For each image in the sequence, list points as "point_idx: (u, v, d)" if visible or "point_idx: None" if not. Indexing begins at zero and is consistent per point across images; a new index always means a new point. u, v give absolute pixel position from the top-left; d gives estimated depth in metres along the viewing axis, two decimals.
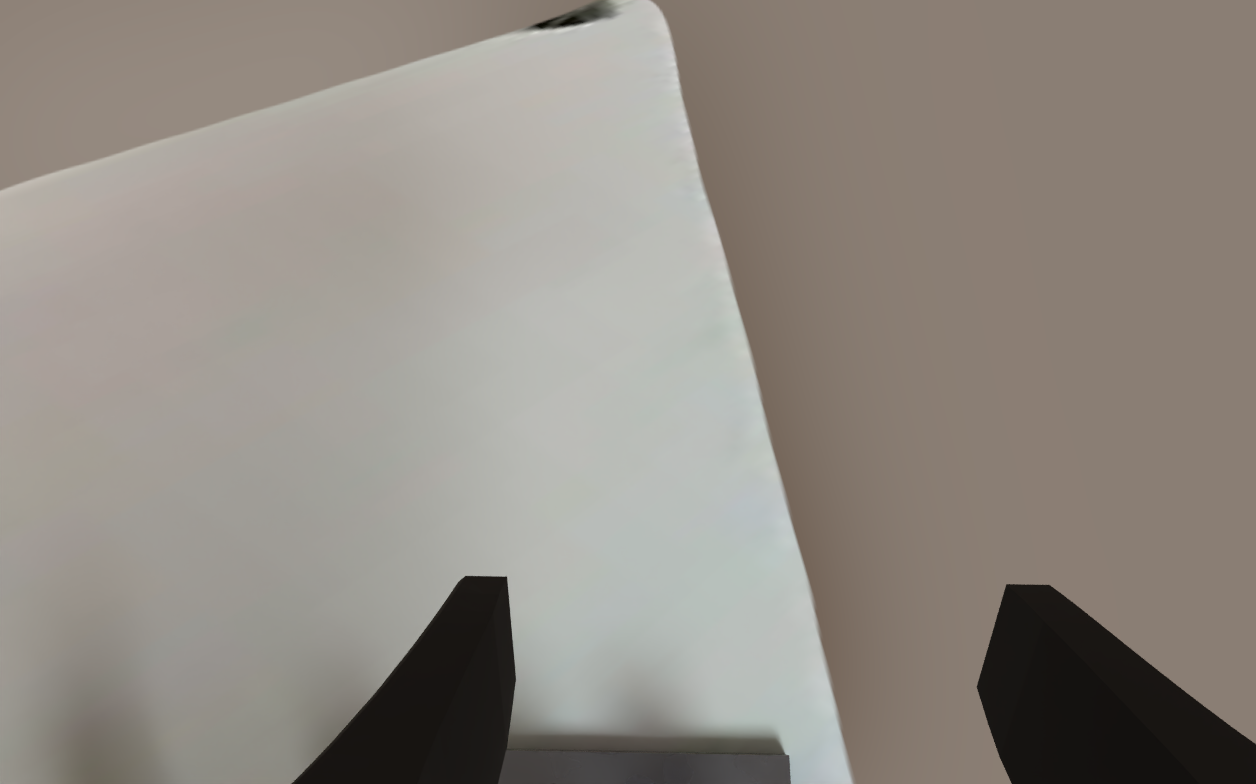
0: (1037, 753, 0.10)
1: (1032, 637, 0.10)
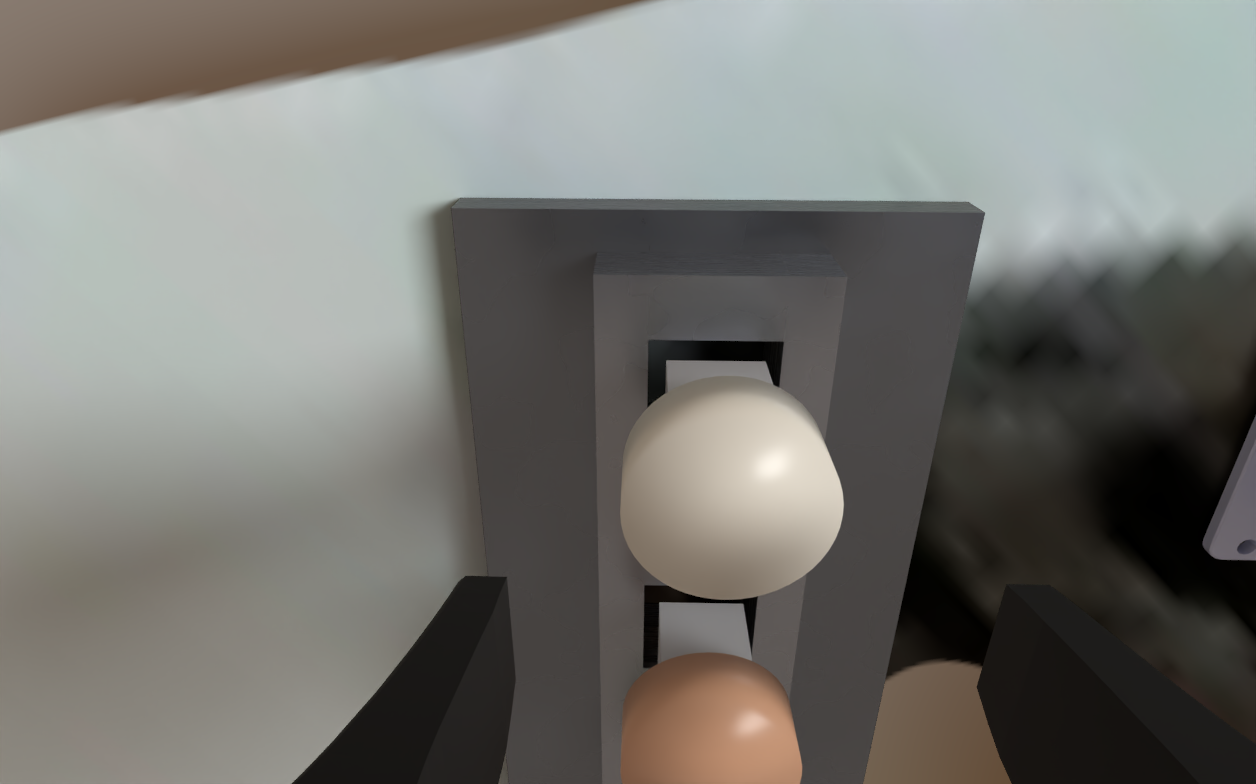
0: (1037, 753, 0.10)
1: (1032, 637, 0.10)
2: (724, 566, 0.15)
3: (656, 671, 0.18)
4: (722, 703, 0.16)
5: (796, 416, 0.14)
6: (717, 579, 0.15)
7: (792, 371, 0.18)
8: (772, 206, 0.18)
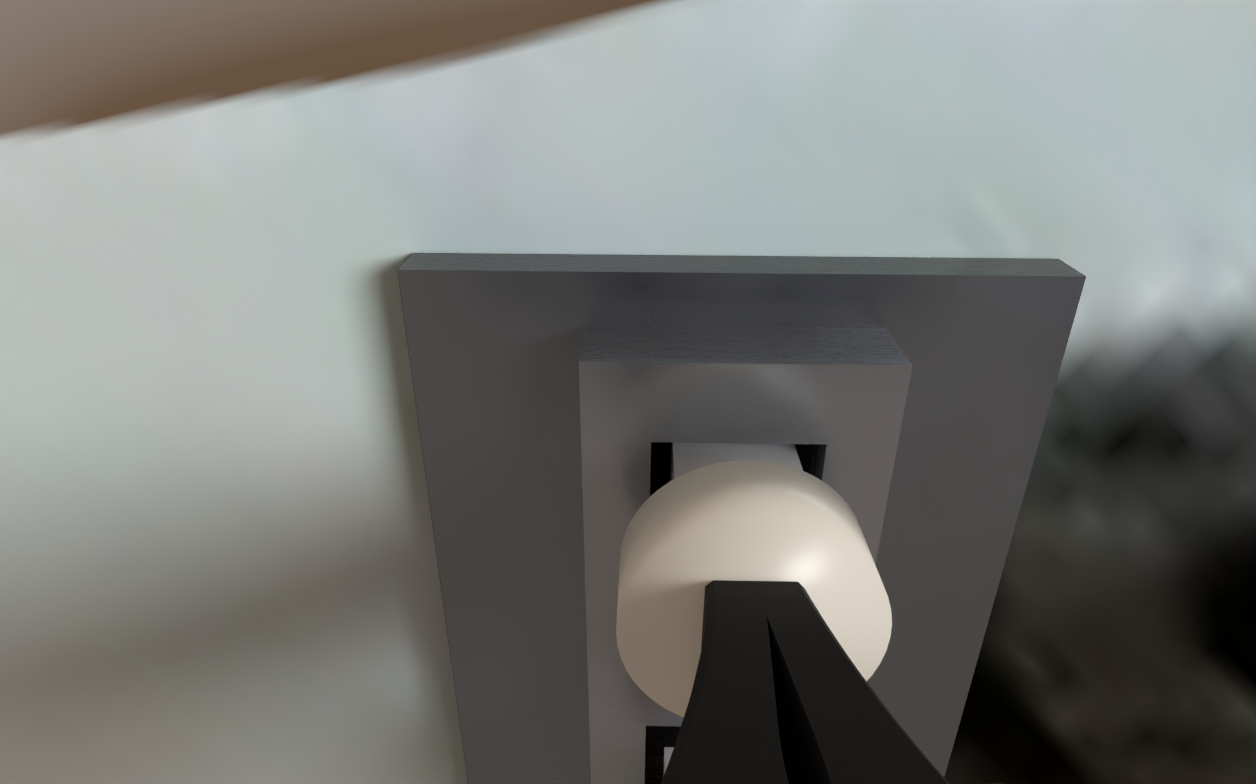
0: None
1: None
2: None
3: None
4: None
5: (833, 515, 0.11)
6: None
7: (836, 480, 0.14)
8: (810, 266, 0.14)
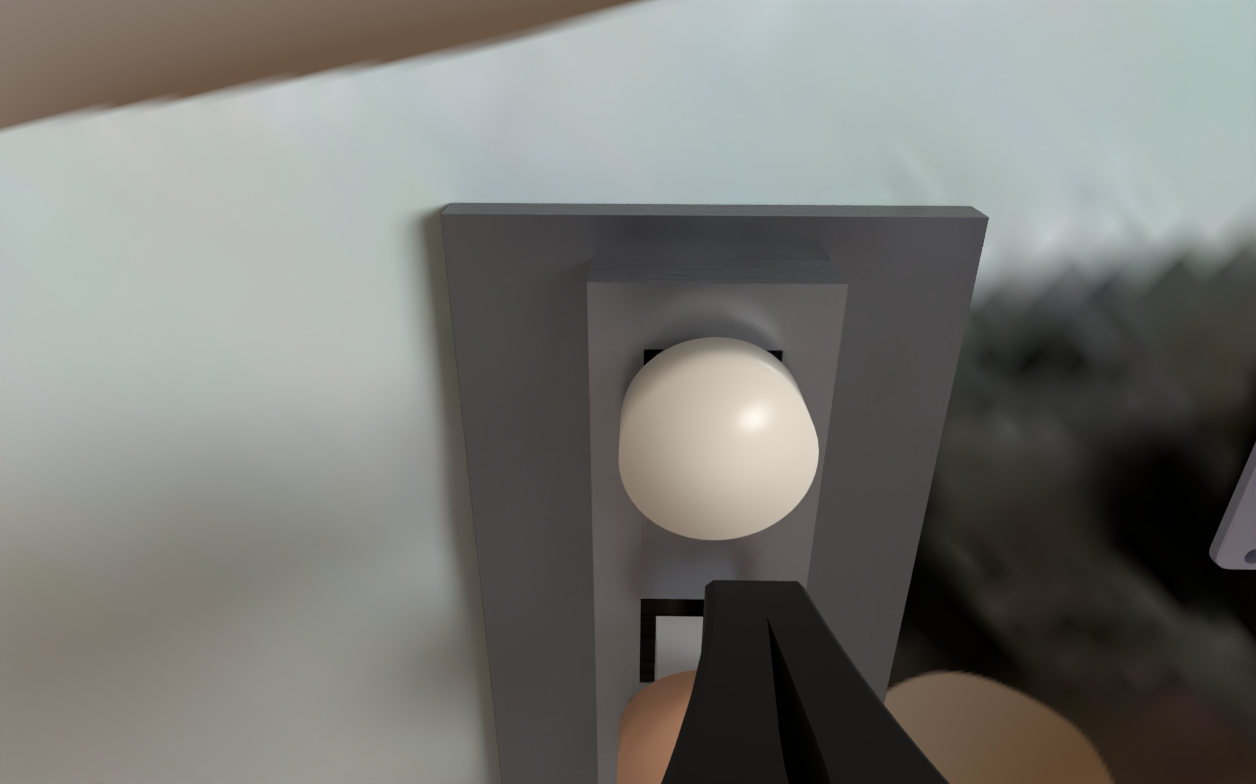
0: None
1: None
2: (712, 509, 0.16)
3: (652, 689, 0.17)
4: None
5: (776, 371, 0.15)
6: (705, 520, 0.16)
7: None
8: (771, 211, 0.17)
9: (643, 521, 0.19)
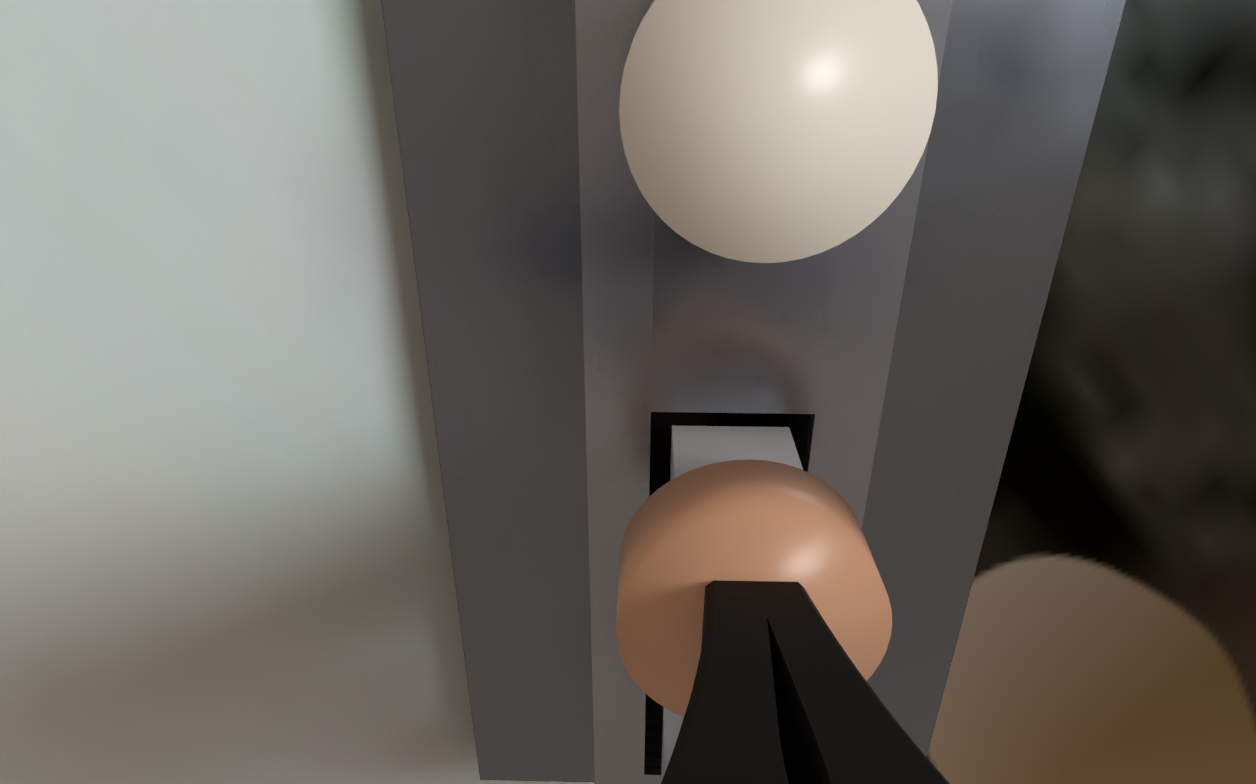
0: None
1: None
2: (764, 205, 0.10)
3: (669, 489, 0.12)
4: (773, 516, 0.11)
5: None
6: (754, 226, 0.11)
7: None
8: None
9: (655, 286, 0.13)
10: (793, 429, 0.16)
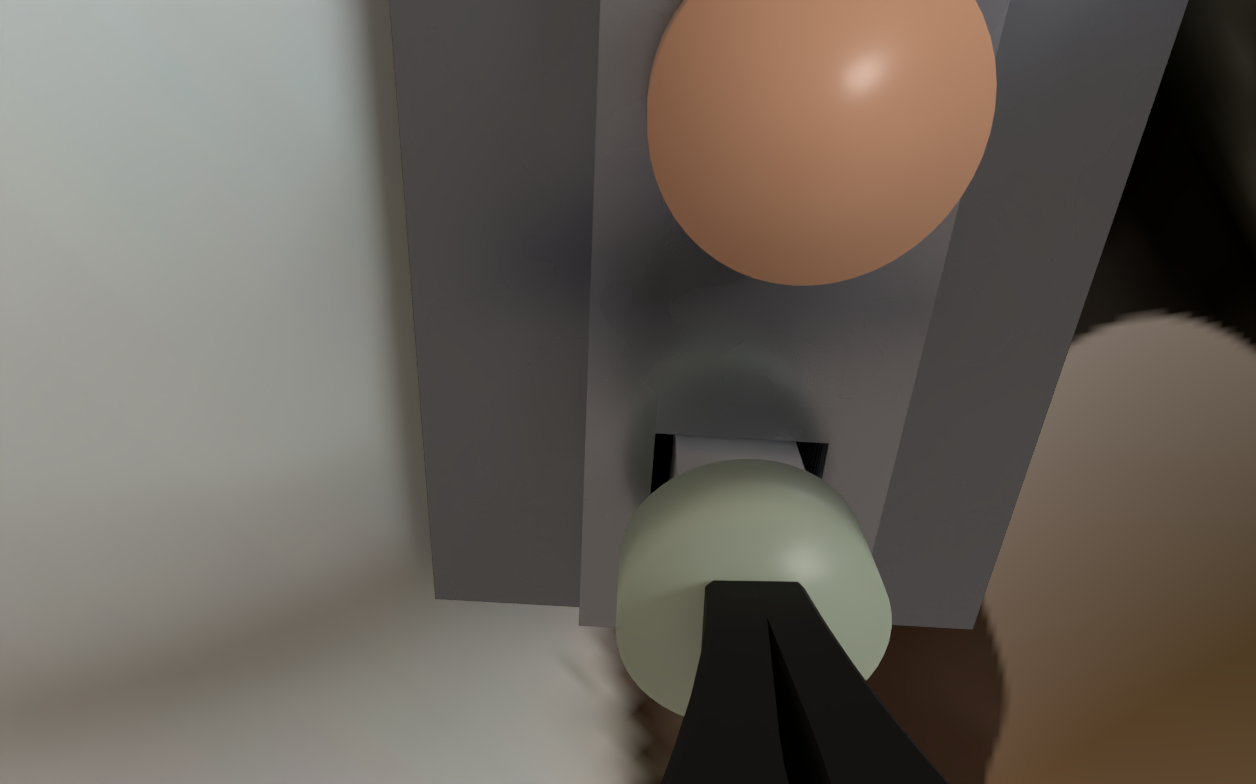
0: None
1: None
2: None
3: None
4: None
5: None
6: None
7: None
8: None
9: None
10: None
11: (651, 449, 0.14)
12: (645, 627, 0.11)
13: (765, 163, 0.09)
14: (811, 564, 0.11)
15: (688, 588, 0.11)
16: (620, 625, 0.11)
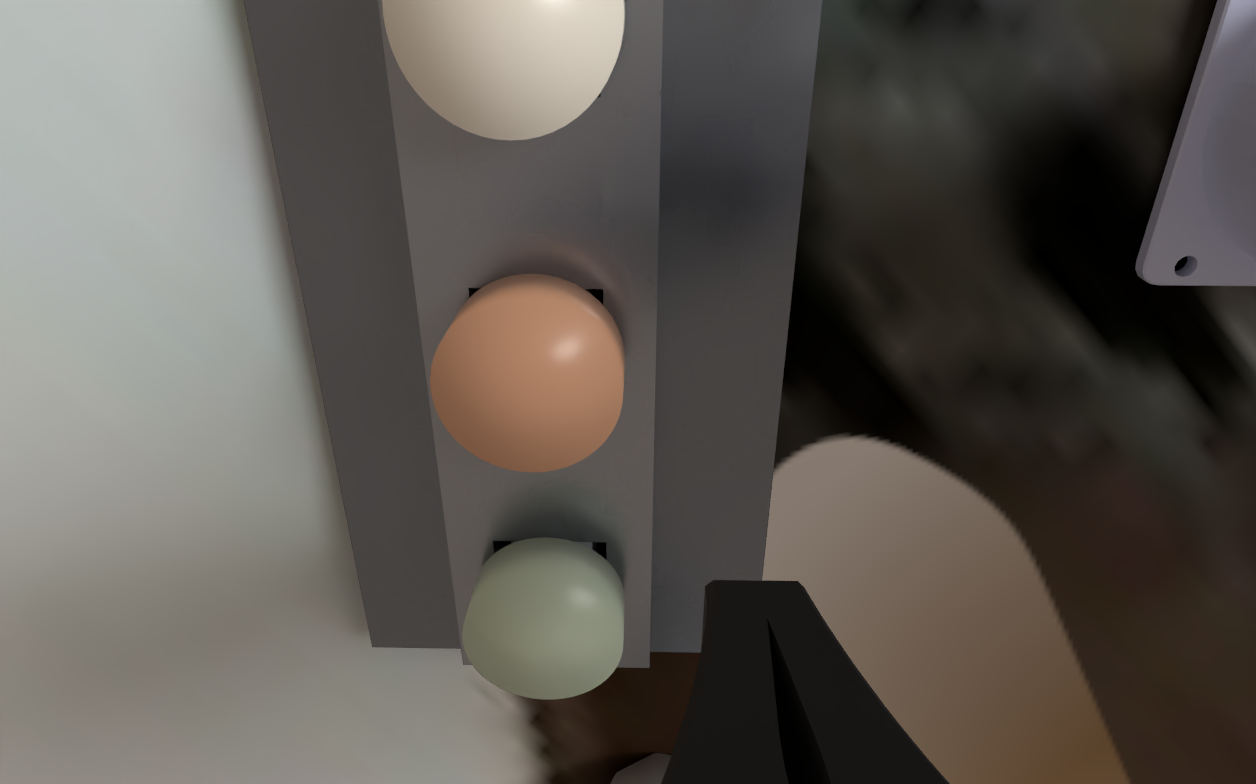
0: None
1: None
2: (504, 92, 0.13)
3: (474, 295, 0.17)
4: (530, 297, 0.15)
5: None
6: (498, 110, 0.14)
7: None
8: None
9: (459, 177, 0.16)
10: None
11: (491, 550, 0.21)
12: (480, 641, 0.19)
13: (501, 411, 0.16)
14: (567, 601, 0.19)
15: (499, 618, 0.19)
16: (464, 640, 0.19)
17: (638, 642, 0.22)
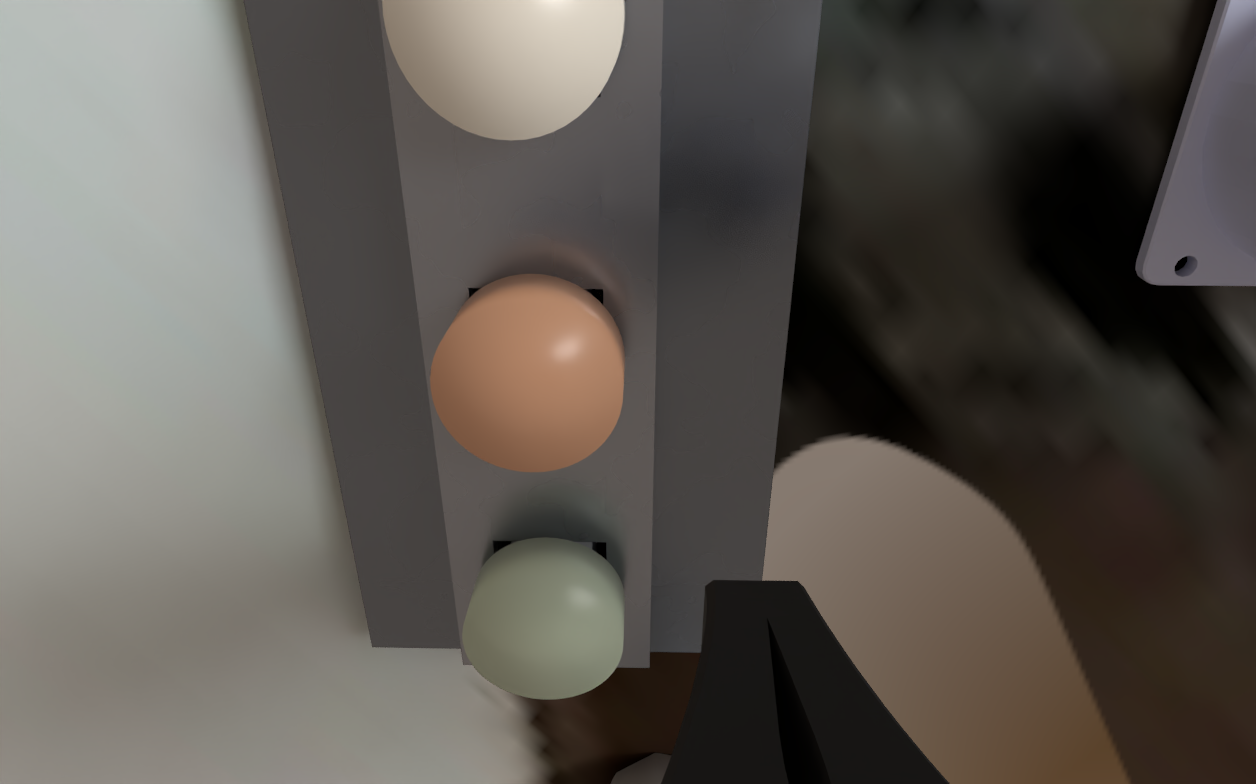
0: None
1: None
2: (504, 92, 0.13)
3: (474, 295, 0.17)
4: (530, 297, 0.15)
5: None
6: (498, 110, 0.14)
7: None
8: None
9: (459, 177, 0.16)
10: None
11: (491, 550, 0.21)
12: (480, 641, 0.19)
13: (501, 411, 0.16)
14: (567, 601, 0.19)
15: (499, 618, 0.19)
16: (464, 640, 0.19)
17: (638, 642, 0.22)
